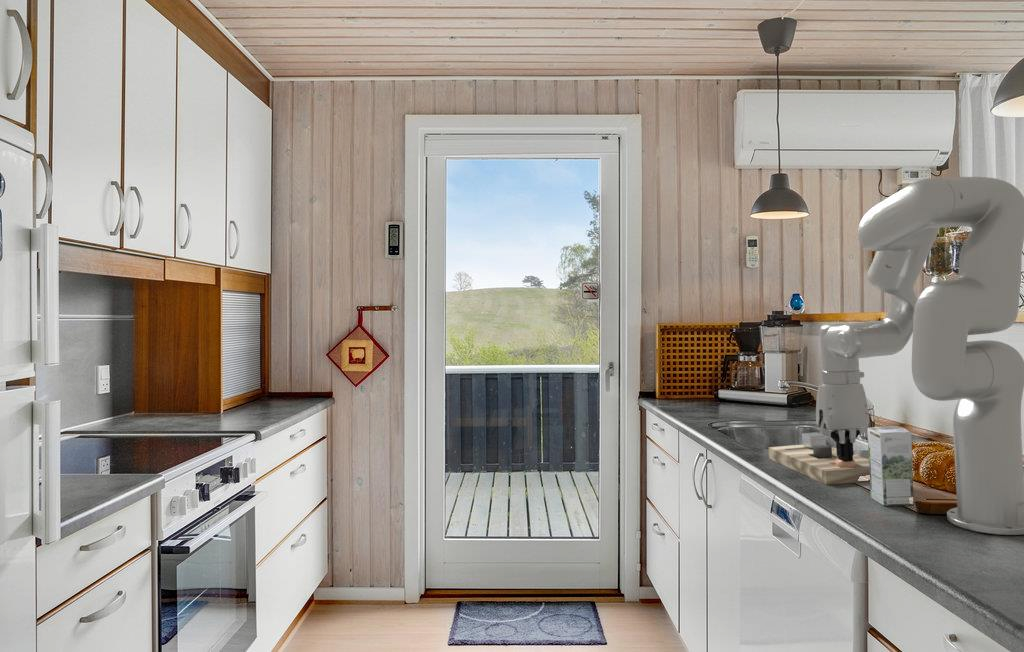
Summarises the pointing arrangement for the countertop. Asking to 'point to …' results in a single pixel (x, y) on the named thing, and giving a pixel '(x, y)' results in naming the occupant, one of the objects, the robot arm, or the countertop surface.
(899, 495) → the syrup box
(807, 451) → the light wooden board
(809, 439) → the steel slider
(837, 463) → the terracotta button
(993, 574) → the countertop surface
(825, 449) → the black button
